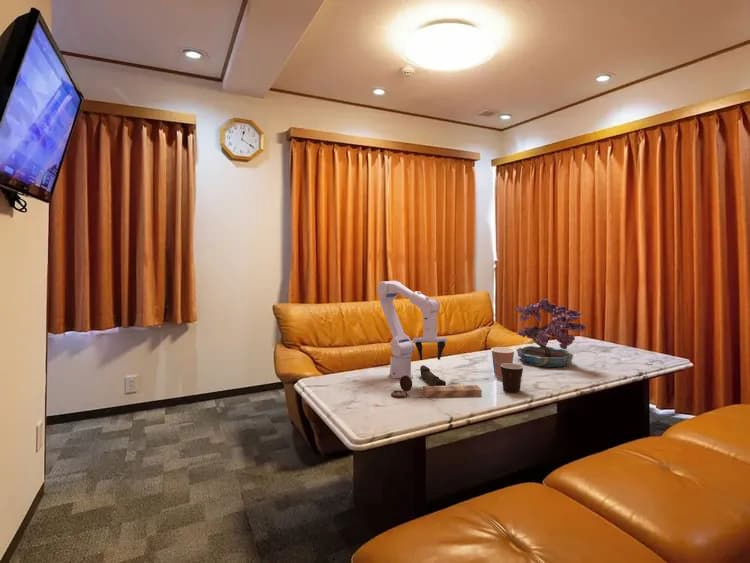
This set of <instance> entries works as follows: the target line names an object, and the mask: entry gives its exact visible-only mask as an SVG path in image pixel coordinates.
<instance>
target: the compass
mask: <svg viewBox="0 0 750 563" xmlns="http://www.w3.org/2000/svg"><path fill="white" fill-rule="evenodd" d="M399 386H400V388H401V389H400V390H399V389H397V390H393V391H392V392H391V394H390V395H391V397H393V398H395V399H404V398H409V397H410V395H408V393H407V392H410V391H411V390H412V388H413V380H412V378H410V377H409V376H407V375H405V376H402V377H401V378H399Z"/></svg>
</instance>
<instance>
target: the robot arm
mask: <svg viewBox="0 0 750 563" xmlns="http://www.w3.org/2000/svg"><path fill="white" fill-rule="evenodd" d="M376 291H377V294H378V295H377V296H378V297H379V302H380V306H381V310H382V312H383V314H384V317H385V319H386V323H387V325H388V327H389V331H390V334H391V336H392V338H391V340H390V342H389V344H390V347H391V351H390V352H391V353H392V355H393V356H390V363H389V364H390V365H389V367H390V368H389V374H390V376H391V379H401V377H402V376H405V375H407V376H409V377H410V378H411V379H412V378H414V377H413V374H412V356H413V353H414V351H415V350H416V349H415V347H416V348H417V351H418V352H417V353H418V356H419V360H420V361H423V345H422V344H424V343H429V344H430V343H434V344H435V343H437V360H438V361H440V360H441V356H442V353H443V350H444V349H445V347H446V343H447V344H448V337H446V336H443V337H441V336H438V312H439V310H440V308H441V305H440V302H439V300H437V299H436V298H430V297H429V295H428V296H427V295H425V294H422V291H421V290H420V291H413V290H411V289H409V288H408V287H407V286H405V285H404V284H402V282H401V281H398V280H388V281H385V280H384V281H383V280H381V281H380V282H379V283H378V285H377V288H376ZM398 295H401V296H403V297H405V298H407V299H409V303H411V304H412V305H414V306H416V307H418V308H419V309H420V311H421V312H422V323H423V325H422V327H423V331H422V332H423V334H422V336H420V337H412V340H411V338H410V336H408V334H405V332H404V329H403V327H402V324H401V321H400V319H399V316H398V313H397V311H396V308H395V306H394V303H393V302H394V301H395V299H396V297H398Z"/></svg>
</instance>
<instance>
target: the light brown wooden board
mask: <svg viewBox="0 0 750 563" xmlns="http://www.w3.org/2000/svg"><path fill="white" fill-rule="evenodd" d="M482 391H483V390H482V389H481V388H480V387H479V386H478V384H465V385H464V384H462V385H461V384H457V385H454V384H453V385H446V386H432V385H423V386H422V394H423V396H424V398H426V399H427V398H458V397H459V398H462V397H463V398H464V397H468V398H469V397H482V394H483V393H482Z"/></svg>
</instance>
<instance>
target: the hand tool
mask: <svg viewBox="0 0 750 563" xmlns="http://www.w3.org/2000/svg"><path fill="white" fill-rule="evenodd" d="M419 371H420V376H421V378H422V380H423V381H426V382H427V383H429V384H430V386H447V382H446V381H445V380H443V379H441V378H439V376H437V375H435V373H432V371H431V369H430V368H429V367H427V366H426V365H424V364H423V365H421V366H420V370H419Z"/></svg>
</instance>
